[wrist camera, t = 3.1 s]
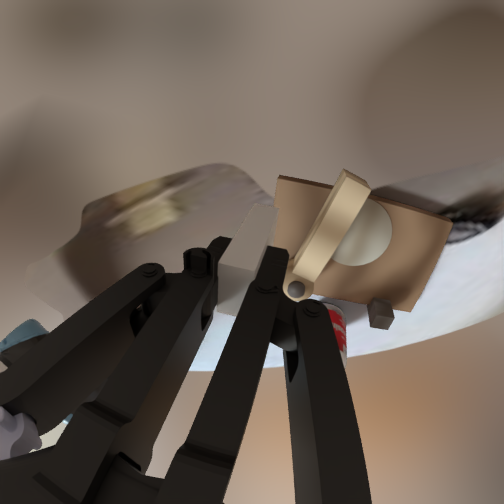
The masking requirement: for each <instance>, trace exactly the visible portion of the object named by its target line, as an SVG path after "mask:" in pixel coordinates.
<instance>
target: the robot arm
mask: <svg viewBox="0 0 504 504" xmlns="http://www.w3.org/2000/svg"><path fill="white" fill-rule="evenodd" d="M278 213H279V208H277V207H272V206H266V205H261V204H256V203H254V205H253V207H252V208H251V210H250V212H249V213H248V215H247V216H246V218H245V220H244V221H243V223H242V224H241V226H240V228H239V229H238V231H237V233H236V234H235V236H234V237H233V239H232V238H227V237H222V236H219V237H217V238H216V239H214V240H213V241H212V242H211V243H210V245H209V246H208V247H207V249H205V248H191V249H188V250H186V251H185V252H184V253H183V258H184V270H183V271H182V273H165V270H164V267H163V266H161V265H160V264H157V263H146V264H143V265H141V266H139V267H138V268H136V269H135V270H133V271H132V272H130V273H129V274H128V275H126V276H125V277H123V278H122V279H121V280H119V281H118V282H116V283H115V284H114V285H112V286H111V287H109V288H108V289H107V290H105V291H104V292H103V293H101V294H100V295H99V296H97V297H96V298H94V299H93V300H92V301H90V302H89V303H88V304H86V305H85V306H84V307H82V308H81V309H80V310H78V311H77V312H76V313H75V314H73V315H72V316H71V317H69V318H68V319H67V320H66V321H64V322H63V323H62V324H60V325H59V326H58V327H57V328H55V329H54V330H53V331H52V332H50V333H49V332H48V331H47V330H45V328H43V326H42V325H41V324H40V323H39V322H38V321H36V320H35V319H29V320H27V321H25V322H24V323H22V324H21V325H19V326H18V327H17V328H15V329H14V330H13V331H12V332H11V333H9V334H8V335H7V336H6V338H5V339H3V340H2V341H1V342H0V504H224V503H223V499H224V496H225V493H226V490H227V487H228V484H229V481H230V478H231V475H232V472H233V468H234V465H235V462H236V459H237V456H238V453H239V449H240V446H241V443H242V440H243V436H244V433H245V429H246V426H247V423H248V419H249V416H250V413H251V409H252V406H253V402H254V399H255V395H256V391H257V387H258V384H259V380H260V377H261V373H262V369H263V366H264V362H265V358H266V354H267V350H268V346H269V343H270V342H271V343H273V344H274V345H276V346H278V347H280V348H282V349H283V358H284V368H285V378H286V388H287V399H288V410H289V422H290V434H291V445H292V459H293V472H294V487H295V502H296V504H372V501H371V494H370V488H369V481H368V475H367V469H366V464H365V458H364V453H363V448H362V443H361V438H360V433H359V428H358V423H357V419H356V415H355V410H354V405H353V401H352V397H351V393H350V389H349V384H348V380H347V377H346V372H345V368H344V365H343V361H342V357H341V353H340V349H339V346H338V342H337V338H336V335H335V331H334V328H333V324H332V321H331V317H330V314H329V311H328V309H327V307H326V306H325V305H324V304H323V303H322V302H319V301H317V300H314V299H303V300H301V301H299V302H296V301H294V300H292V299H290V298H289V297H288V296H287V295H286V294H285V293H284V291H283V284H284V279H285V275H286V270H287V266H288V261H289V256H290V255H289V253H288V251H287V249H283V248H278V247H273V243H274V237H275V231H276V225H277V219H278ZM140 304H141V307H139V308H137V307H138V306H139V305H140ZM216 304H217V312H220V313H224V314H228V315H232V316H236V319H235V322H234V324H233V327H232V329H231V332H230V334H229V337H228V339H227V341H226V344H225V346H224V349H223V351H222V354H221V356H220V359H219V361H218V364H217V366H216V369H215V371H214V374H213V376H212V379H211V381H210V383H209V386H208V388H207V391H206V393H205V395H204V398H203V401H202V403H201V405H200V408H199V410H198V412H197V415H196V417H195V420H194V422H193V425H192V427H191V430H190V432H189V434H188V437H187V439H186V441H185V443H184V444H183V445H182V446H181V447H180V448H179V449H178V450H177V452H176V454H175V456H174V458H173V460H172V462H171V465H170V467H169V469H168V472H167V474H166V476H165V479H162V478H156V477H150V476H146V475H145V473H146V471H147V469H148V466H149V464H150V462H151V459H152V451H153V450H152V449H153V445H154V443H155V441H156V439H157V436H158V434H159V432H160V430H161V428H162V425H163V423H164V421H165V419H166V417H167V415H168V413H169V411H170V409H171V406H172V404H173V402H174V400H175V398H176V396H177V394H178V392H179V389H180V387H181V385H182V383H183V381H184V379H185V377H186V375H187V372H188V370H189V368H190V366H191V364H192V362H193V360H194V358H195V356H196V354H197V351H198V349H199V347H200V345H201V343H202V341H203V339H204V337H205V335H206V332H207V330H208V328H209V326H210V324H211V322H212V320H213V310H214V308H215V306H216ZM136 308H137V309H136ZM61 422H63V423H65V424H67V426H66V428H65V430H64V431H63V433H62V434H61V436H60V438H59V439H58V441H57V443H56V445H53V446H50V447H47V448H44V449H41V450H38V449H40V448H41V446H42V441H41V439H40V437H39V436H41V435H43V434H45V433H47V432H49V431H50V430H52V429H53V428H55V427H56V426H57V425H59V424H60V423H61ZM32 449H35V450H38V451H34V452H31V453H29V452H30V451H31V450H32Z"/></svg>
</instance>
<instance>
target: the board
mask: <svg viewBox="0 0 504 504" xmlns="http://www.w3.org/2000/svg"><path fill="white" fill-rule="evenodd" d="M333 187H334V186H332V185H328V184H323V183H318V182H313V181H309V180H304V179H299V178H293V177H288V176H282V175H279V177H278V179H277V186H276V193H275V199H274V206H273V207H277V208H279V213H278V219H277V225H276V231H275V237H274V243H273V247H278V248H283V249H287V251H288V253H289V255H290V256H289V260H291V259H294V258H295V256H296V254H297V252H298V251H299V249H300V247H301V245H302V243H303V242H304V240H305V238H306V236H307V235H308V233H309V231H310V229H311V227H312V226H313V224H314V222H315V220H316V218H317V217H318V215H319V213H320V211H321V209H322V207H323V206H324V204H325V202H326V200H327V198H328V196H329V195H330V193H331V191H332V189H333ZM452 225H453V223H452V222H451V220H450V219H449V218H447V217H444V216H441V215H438V214H435V213H432V212H429V211H426V210H422V209H419V208H416V207H413V206H409V205H406V204H402V203H399V202H395V201H392V200H388V199H385V198H381V197H377V196H373V195H370V194H369V195H368V197H367V199H366V200H365V202H364V204H363V206H362V207H361V209H360V211H359V212H358V214H357V216H356V217H355V219H354V221H353V222H352V224H351V226H350V227H349V229H348V231H347V232H346V234H345V235H344V237H343V239H342V240H341V242H340V243H339V245H338V247H337V248H336V250H335V251H334V253H333V254H332V256H331V257H330V259H329V261H328V262H327V264H326V265H325V267H324V268H323V270H322V271H321V273H320V274H319V276H318V277H317V279H316V280H315V282H314V290H313V293H312V294H315V295H320V296H325V297H330V298H335V299H340V300H345V301H351V302H356V303H361V304H367V308H368V315H369V322H370V327H372V328H379V329H385V330H388V329H389V327H390V325H391V324H392V322H393V320H394V314H393V310H392V309H394V310H400V311H406V312H411V311H412V309H413V307H414V306H415V304H416V302H417V300H418V298H419V296H420V295H421V293H422V291H423V289H424V287H425V285H426V283H427V281H428V279H429V277H430V275H431V273H432V271H433V269H434V267H435V265H436V263H437V261H438V259H439V256H440V254H441V252H442V250H443V247H444V245H445V243H446V240H447V238H448V235H449V233H450V230H451V228H452Z"/></svg>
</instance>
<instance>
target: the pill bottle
mask: <svg viewBox="0 0 504 504" xmlns="http://www.w3.org/2000/svg"><path fill="white" fill-rule="evenodd" d="M323 304H324V305H325V306H326V307H327V309H328V311H329V314H330V317H331V321H332V324H333V328H334V331H335V335H336V338H337V342H338V346H339V349H340V353H341V357H342V361H343V365H344V368H345V367H346V363H347V346H346V320H345V315H344V313H343V312H342V310H341V309H340V308H338V307H337V306H335V305H332V304H328V303H323Z"/></svg>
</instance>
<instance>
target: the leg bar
mask: <svg viewBox="0 0 504 504" xmlns="http://www.w3.org/2000/svg"><path fill="white" fill-rule="evenodd" d="M370 192H371V189H370V187H369V185H368V184H367V182H366V181H365V180H363V179H362V178H360V177H358V176H356V175H354V174H353V173H350V172H349V171H347V170H345V169H343V170H342V172H341V174H340V176H339V178H338V179H337V181H336V183H335V185H334V187H333V189H332V191H331V193H330V195H329V196H328V198H327V200H326V202H325V204H324V206H323V207H322V209H321V211H320V213H319V215H318V217H317V218H316V220H315V222H314V224H313V226H312V227H311V229H310V231H309V233H308V235H307V236H306V238H305V240H304V242H303V243H302V245H301V247H300V249H299V251H298V252H297V254H296V256H295V258H294V259H291V260H289V261H288V266H287V270H286V275H285V279H284V284H283V291H284V293H285V294H286V295H287V296H288V297H289V298H290V299H292V300H294V301H301V300H303V299H307V298H309V297H310V296H311V295H312V293H313V290H314V282H315V280H316V279H317V277H318V276H319V274H320V273H321V271H322V270H323V268H324V267H325V265H326V264H327V262H328V261H329V259H330V257H331V256H332V254H333V253H334V251H335V250H336V248H337V247H338V245H339V243H340V242H341V240H342V239H343V237H344V235H345V234H346V232H347V231H348V229H349V227H350V226H351V224H352V222H353V221H354V219H355V217H356V216H357V214H358V212H359V211H360V209H361V207H362V206H363V204H364V202H365V200H366V199H367V197H368V195H369V194H370Z"/></svg>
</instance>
